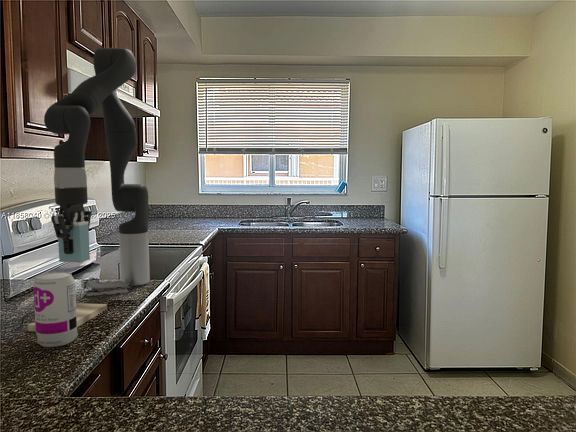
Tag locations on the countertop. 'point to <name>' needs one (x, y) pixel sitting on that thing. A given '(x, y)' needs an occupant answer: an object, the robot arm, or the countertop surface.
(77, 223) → the block
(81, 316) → the board
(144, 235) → the robot arm
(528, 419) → the countertop surface
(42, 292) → the supplement can
